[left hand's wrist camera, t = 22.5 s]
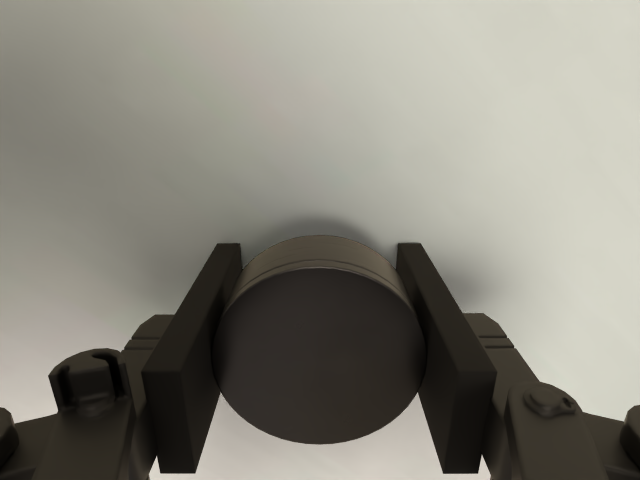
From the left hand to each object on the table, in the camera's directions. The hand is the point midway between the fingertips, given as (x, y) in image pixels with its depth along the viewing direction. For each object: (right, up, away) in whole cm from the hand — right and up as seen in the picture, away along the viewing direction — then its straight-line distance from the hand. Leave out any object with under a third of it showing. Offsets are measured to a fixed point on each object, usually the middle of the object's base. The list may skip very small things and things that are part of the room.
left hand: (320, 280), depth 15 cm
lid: (0, -2, -4) cm, 4 cm away
